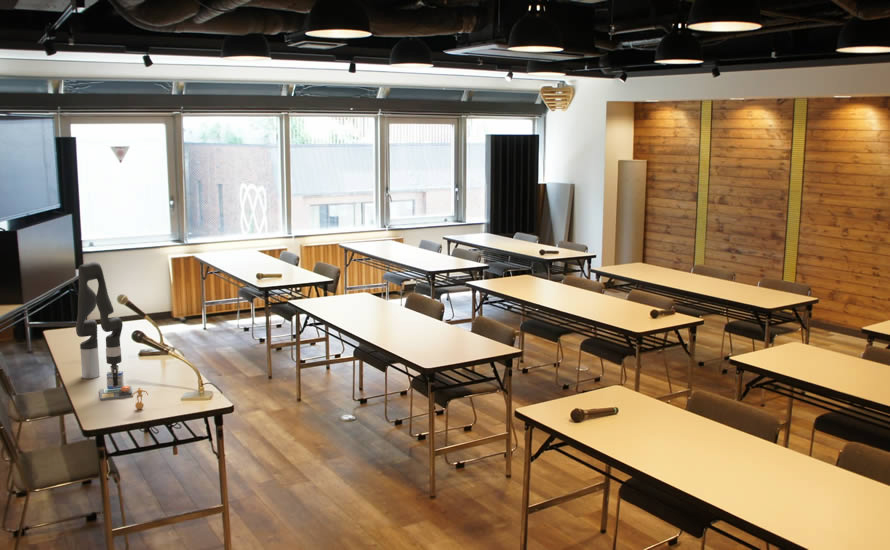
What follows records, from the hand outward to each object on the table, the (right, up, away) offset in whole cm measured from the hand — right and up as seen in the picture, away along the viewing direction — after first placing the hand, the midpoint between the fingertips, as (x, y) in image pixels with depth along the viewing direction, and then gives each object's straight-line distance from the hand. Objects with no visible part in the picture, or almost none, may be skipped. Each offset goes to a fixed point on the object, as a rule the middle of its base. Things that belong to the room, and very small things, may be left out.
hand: (115, 384), depth 423 cm
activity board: (+2, -5, -3) cm, 6 cm away
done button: (+8, -2, -6) cm, 10 cm away
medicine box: (0, -2, 0) cm, 2 cm away
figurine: (+24, -9, -27) cm, 37 cm away
